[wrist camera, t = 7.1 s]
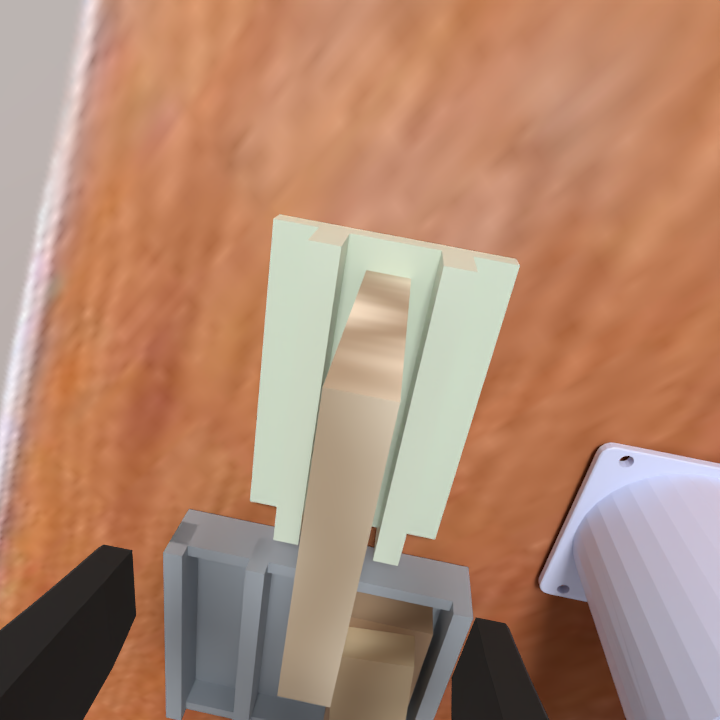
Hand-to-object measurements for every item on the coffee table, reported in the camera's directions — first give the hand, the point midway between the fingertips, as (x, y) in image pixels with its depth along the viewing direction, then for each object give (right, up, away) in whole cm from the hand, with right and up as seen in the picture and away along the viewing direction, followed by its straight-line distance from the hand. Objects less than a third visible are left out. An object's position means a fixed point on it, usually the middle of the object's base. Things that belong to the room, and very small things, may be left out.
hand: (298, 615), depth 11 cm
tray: (-1, -8, +15) cm, 17 cm away
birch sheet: (+1, +4, +8) cm, 9 cm away
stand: (+2, +4, +9) cm, 10 cm away
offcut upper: (+2, -9, +13) cm, 16 cm away
